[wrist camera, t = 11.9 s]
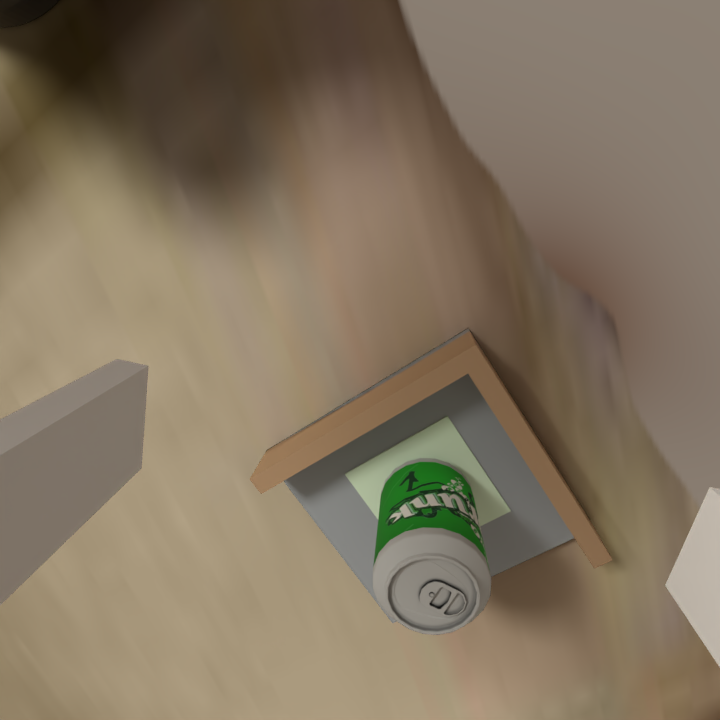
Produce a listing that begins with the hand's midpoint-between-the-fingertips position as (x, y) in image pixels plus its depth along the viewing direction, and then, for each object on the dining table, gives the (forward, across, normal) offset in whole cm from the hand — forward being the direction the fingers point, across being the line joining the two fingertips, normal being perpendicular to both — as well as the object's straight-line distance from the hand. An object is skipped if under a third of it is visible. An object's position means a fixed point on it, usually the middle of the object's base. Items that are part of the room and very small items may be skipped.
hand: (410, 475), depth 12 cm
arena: (+29, +5, -16) cm, 33 cm away
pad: (+29, +5, -16) cm, 33 cm away
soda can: (+28, +5, -16) cm, 32 cm away
